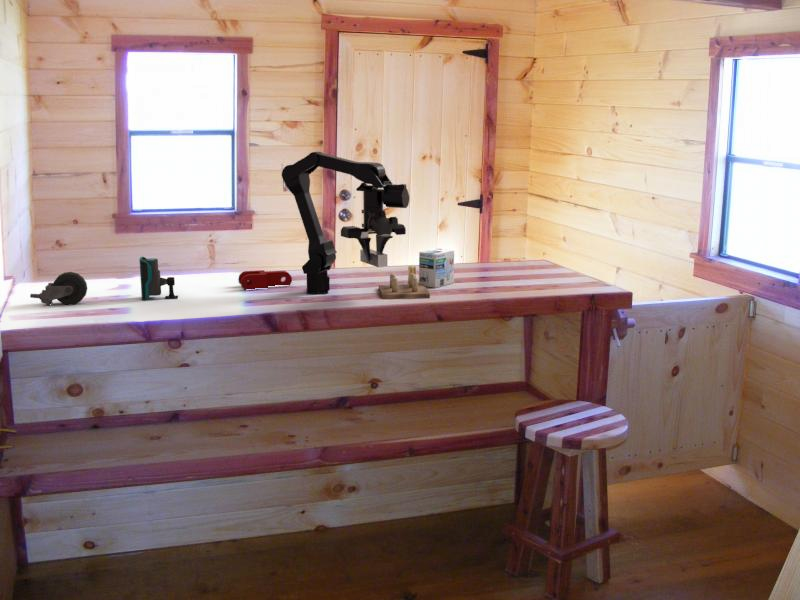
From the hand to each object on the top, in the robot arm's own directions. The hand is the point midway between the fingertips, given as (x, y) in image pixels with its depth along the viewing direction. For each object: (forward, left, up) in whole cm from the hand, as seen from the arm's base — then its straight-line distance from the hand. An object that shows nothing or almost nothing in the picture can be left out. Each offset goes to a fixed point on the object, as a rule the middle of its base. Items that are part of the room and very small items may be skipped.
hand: (373, 259), depth 267 cm
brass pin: (+13, +17, -11) cm, 24 cm away
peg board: (+9, +5, -11) cm, 15 cm away
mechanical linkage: (-32, +17, -12) cm, 38 cm away
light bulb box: (+21, +18, -12) cm, 30 cm away
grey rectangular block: (0, 0, -1) cm, 1 cm away
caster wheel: (-90, -2, -12) cm, 90 cm away
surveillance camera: (-63, +4, -12) cm, 64 cm away
